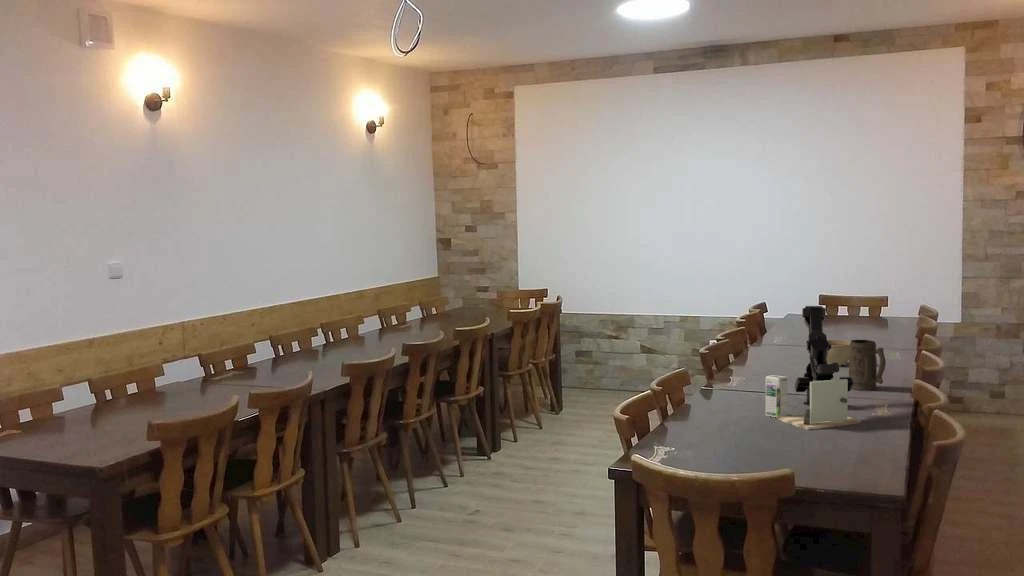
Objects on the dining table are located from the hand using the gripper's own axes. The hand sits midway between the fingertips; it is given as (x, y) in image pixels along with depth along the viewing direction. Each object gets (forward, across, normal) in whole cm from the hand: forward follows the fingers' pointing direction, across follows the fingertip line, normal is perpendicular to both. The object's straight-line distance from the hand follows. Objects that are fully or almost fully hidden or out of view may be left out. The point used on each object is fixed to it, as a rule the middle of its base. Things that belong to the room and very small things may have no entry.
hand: (828, 405), depth 287 cm
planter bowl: (-76, +33, +86) cm, 119 cm away
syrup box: (-4, -15, +14) cm, 20 cm away
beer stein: (-36, +31, +46) cm, 67 cm away
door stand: (+2, -2, +7) cm, 8 cm away
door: (+5, 0, +3) cm, 6 cm away
